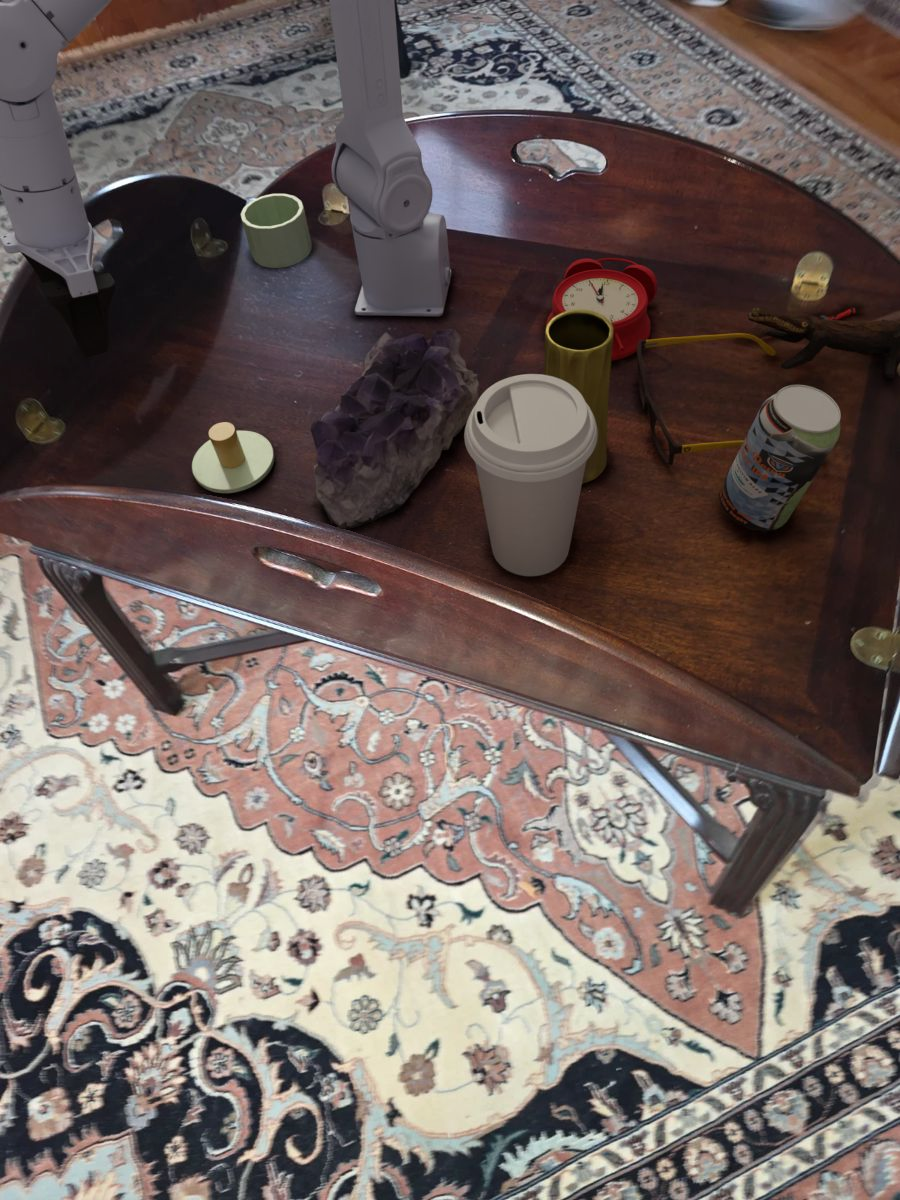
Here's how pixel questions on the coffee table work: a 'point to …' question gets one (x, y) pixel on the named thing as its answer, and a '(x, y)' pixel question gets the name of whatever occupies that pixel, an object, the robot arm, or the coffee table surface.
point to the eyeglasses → (651, 406)
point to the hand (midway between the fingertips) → (81, 330)
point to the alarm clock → (610, 299)
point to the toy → (831, 336)
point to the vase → (583, 369)
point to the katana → (836, 317)
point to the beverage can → (780, 457)
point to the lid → (232, 459)
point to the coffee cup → (530, 467)
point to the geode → (391, 426)
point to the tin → (276, 230)
